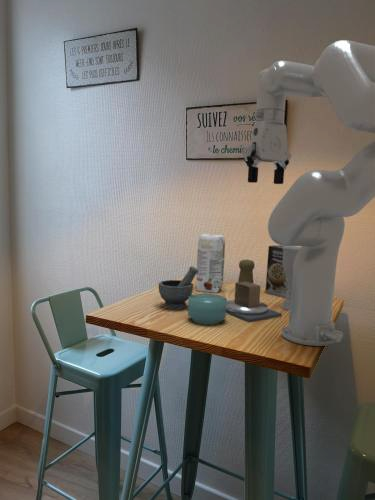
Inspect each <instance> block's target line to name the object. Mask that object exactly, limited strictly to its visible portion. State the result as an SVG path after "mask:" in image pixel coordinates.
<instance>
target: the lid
mask: <svg viewBox="0 0 375 500" xmlns="http://www.w3.org/2000/svg"><path fill="white" fill-rule="evenodd" d="M234 285H235V287H234V299H231V300H227V307H226V310H228V311H230V312H233V313H237V314H242V315H261V314H265V313H267V312H268V309H269V306H268V304H267V303H264V302H262V301H260V297H261V285H259V284H256V283H254V282H253V283H250V282H238V281H237V282H235V284H234Z"/></svg>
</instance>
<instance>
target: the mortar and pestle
mask: <svg viewBox="0 0 375 500" xmlns="http://www.w3.org/2000/svg"><path fill="white" fill-rule="evenodd" d="M197 273H198V270H197V267H194V266H189V268H188V271H187V272H186V274H185V275H184V277H183V278H182V279H180V280H179V279H167V280H161V281H160V282H158V293H159V295H160V297H161V299H163V301H164V305H163V307H164V308H166V309H168V310H174V311H175V310H176V311H177V310H179V311H180V310H184V309H185V308H186V306H187V303H186V301H188V298H189V296H191V295H193V290H194V284H193V283H192V282H193V280H194V278H196V275H197Z"/></svg>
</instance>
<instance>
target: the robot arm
mask: <svg viewBox="0 0 375 500" xmlns="http://www.w3.org/2000/svg"><path fill="white" fill-rule="evenodd" d="M286 95H291V96H299V97H302V98H327V99H328V101H329V103H330V105H331V106H332V108H333V110H334V112H335V114H336V116H337V118H338V120H339V121H340V122H341V124H343V126H344V127H346V128H347V129H349V130H351V131H355V132H359V133H367V134H375V45H371V44H366V43H362V42H358V41H354V40H348V39H340V40H336V41H334V42H333V43H330V44H329V45H328V46H327V47H326V48H324V50H323V51H322V52H321V54H320V56H319V58H318V59H317V61H316V62H315V63H314V65H310V64H306V63H300V62H297V61H289V60H283V59H282V60H278V61H275V62H274V63H273V64H272V65H270V67H268V68H265V69H263V70H260V72H259V73H258V77H257V95H256V109H255V112H254V114H253V116H254V118H255V122H253V127H252V130H251V137H250V145H247V146H246V147H244V148H242V150H241V153H242V156H243V160H244V162H245V163H246V167H247V168H248V172H247V183H252V184H253V183H258V178H259V177H258V176H259V167H258V165H259V163H260V162H264V163H265V162H267V163H273V164H274V167H275V169H274V171H273V185H274V184H275V185H283V184H284V178H285V170H286V169H287V167H288V165H289V163H290V160H291V158H292V153H290V152H289V151H288V133H287V125H286V124H285V111H286V99H287V98H286V97H287V96H286ZM373 199H375V140H373V141H371V142H370V143H368V144H366V145H365V146H363V147H361V149H359V150H358V151H357V152H356V153H355V154H354V155H353V157H352V158H351V159H350V160H349V161H348V162H347V163H346V164H345V165H344V166H343V167H341V168H339V169H336V170H328V169H327V170H324V169H314V170H310V171H307V172H305V173H303V174H301V175H300V176H299V177H298V178H297V179H296V180H295V181H294V182H293V184H292V185H291V186H290V187H289V189H288V190H287V191H286V193H285V194H283V196H282V198H280V200H279V201H278V202H277V204H276V205H275V207H274V208H273V210H272V211H271V213H270V215H269V218H268V223H267V230H268V231H267V232H268V235H269V237H270V239H271V240H272V241H273V242H274V243H275V244H277V245H280V246H294V247H301V248H300V250H299V252H298V253H297V255H296V258H295V261H294V266H293V278H292V291H291V304H290V310H289V320H288V325H286V326H284V327H283V328H281V335H282V337H283V338H284V339H285V340H288V341H290V342H293V343H295V344H299V345H303V346H309V347H310V346H312V347H325V346H331V345H333V344H336V343H338V344H339V343H340V342H341V341H342V338H343V337H344V333H343V332H342V331H340V330H336V328H335V327H336V322H334V321H332V316H333V314H332V313H333V305H334V304H333V303H334V292H335V283H336V273H337V272H336V271H337V261H338V256H339V250H340V246H341V243H342V240H343V236H344V233H345V228H346V227H345V218H349V217H353V216H355V215H357V214H359V212H361V211H362V210H363V209H364V208H365V207H366V206H367V205H368V204H369V203H370V202H371V201H372V200H373Z"/></svg>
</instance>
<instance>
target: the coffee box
mask: <svg viewBox="0 0 375 500" xmlns="http://www.w3.org/2000/svg"><path fill="white" fill-rule="evenodd" d="M282 247H284V246H282V245H279V244H277V245H268V249H267V250H268V252H267V266H266V267H267V268H266V275H265V276H266V279H265V292H266V293H265V294H269V293H270V294H269V295H273V296H276V295H277V297H281V298H285V299H288V296H289V293H288V291H289V286H288V285H289V283H290V279H289V278H287V276H286V274H285V271H284V268H283V264H282V263H283V249H282Z"/></svg>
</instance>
